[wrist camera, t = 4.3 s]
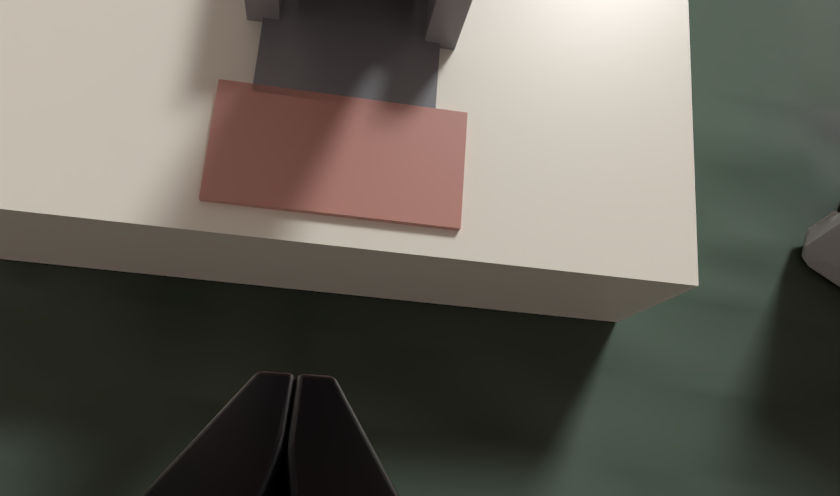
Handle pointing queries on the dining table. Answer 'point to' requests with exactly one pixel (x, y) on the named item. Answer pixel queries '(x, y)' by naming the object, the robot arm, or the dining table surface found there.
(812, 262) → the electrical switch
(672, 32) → the breaker housing
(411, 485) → the dining table surface
